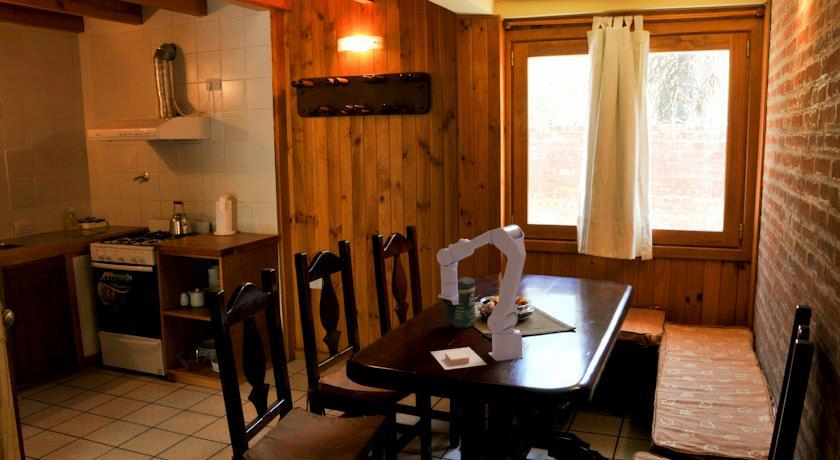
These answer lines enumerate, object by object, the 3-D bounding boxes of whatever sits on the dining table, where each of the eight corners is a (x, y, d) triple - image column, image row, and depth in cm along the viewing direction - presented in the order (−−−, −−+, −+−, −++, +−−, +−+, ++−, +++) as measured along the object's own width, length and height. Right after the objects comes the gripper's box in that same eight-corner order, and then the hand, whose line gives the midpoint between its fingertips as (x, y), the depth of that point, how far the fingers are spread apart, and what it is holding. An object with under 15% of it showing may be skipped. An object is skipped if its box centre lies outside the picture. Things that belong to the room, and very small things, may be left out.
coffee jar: (467, 329, 255) (466, 281, 252) (449, 327, 259) (447, 280, 256) (479, 322, 263) (478, 276, 260) (461, 320, 267) (460, 274, 264)
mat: (469, 348, 233) (469, 347, 233) (486, 365, 216) (486, 364, 216) (430, 353, 230) (430, 351, 230) (445, 370, 212) (445, 369, 212)
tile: (462, 350, 224) (469, 357, 217) (462, 356, 224) (469, 363, 217) (445, 352, 222) (451, 359, 216) (445, 358, 223) (451, 365, 216)
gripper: (432, 278, 239) (433, 315, 241) (444, 287, 225) (445, 326, 227) (451, 276, 241) (452, 313, 243) (464, 285, 227) (465, 324, 229)
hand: (450, 319), depth 235 cm, fingers closed
